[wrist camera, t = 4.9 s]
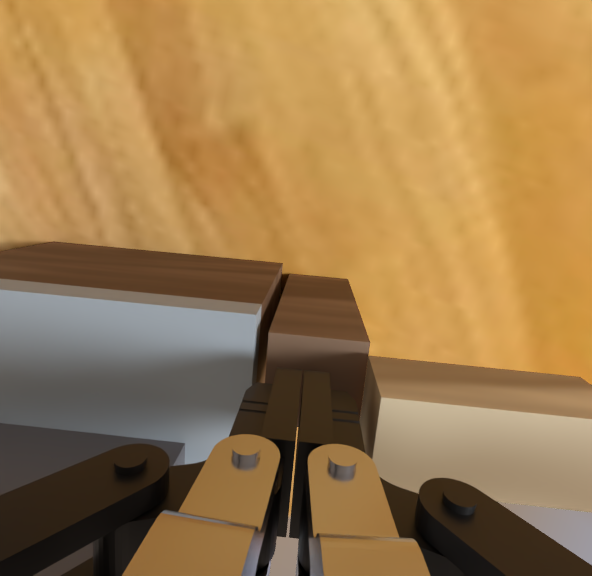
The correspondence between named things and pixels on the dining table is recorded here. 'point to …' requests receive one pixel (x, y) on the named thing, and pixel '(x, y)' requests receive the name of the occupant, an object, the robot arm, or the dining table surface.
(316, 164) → the dining table surface
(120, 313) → the lid
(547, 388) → the wooden key
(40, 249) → the toolbox
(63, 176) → the dining table surface
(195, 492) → the robot arm
